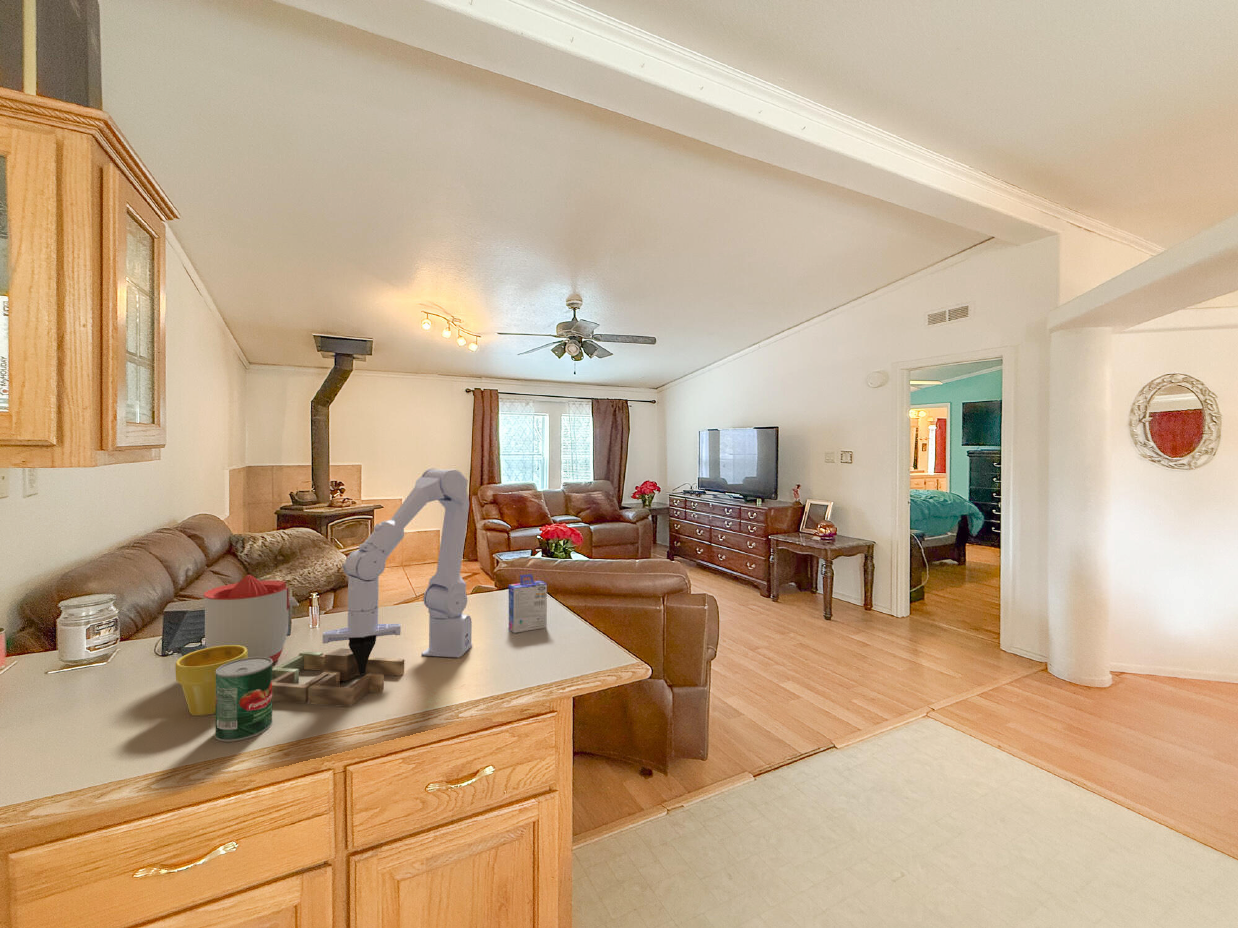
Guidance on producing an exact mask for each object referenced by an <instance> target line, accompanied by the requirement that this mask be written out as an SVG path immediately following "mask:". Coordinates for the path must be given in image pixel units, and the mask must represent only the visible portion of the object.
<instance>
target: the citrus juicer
mask: <svg viewBox="0 0 1238 928" xmlns="http://www.w3.org/2000/svg"><path fill="white" fill-rule="evenodd" d="M286 583H287V582H286V581H283V580H275V579H274V580H273V579H272V580H271V579H269V580H268V579H267V580H266V579H265V580H259V579H258V578H256V577H254V576H253V575H251V574H247V575H246V576H244V577H243V578H242V579H241V580H240V581H238V582H236V583H229V584H226V585H225V584H224V585H220V586H216V587H214V588H211V589H208V590H206V591H205V592H204V593H203V597H204V641H205V645H206V647H205V648H210V647H215V646H223V645H240V646H244V647H246V648H247V652H248V658H250V657H268V658H271V659H272V661H273V663H272V664H274V663H275V662H277V661H278V660H279V658H280V657H281V654H282V652H283V650H284V647H285V646H284V645H285V642H286V640H287V635H288V631H289V609H290V607H299V603H298V601H297V600H296V598H295V597H293V596H291V595H289V593H290V592H289V586H287V584H286Z"/></svg>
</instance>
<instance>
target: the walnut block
mask: <svg viewBox="0 0 1238 928" xmlns="http://www.w3.org/2000/svg"><path fill="white" fill-rule="evenodd" d="M324 654H325V653H324ZM325 671H335V672H340V682H346V681H348V680H350V679H352V678H354V677H357V676H358V675H360V674H359V668H358V664H357V661H356V659H355V656H354V654H353V653H352V651H351V649H350V648H344V647H343V648H341V647H339V648H337V649H336V650H333V651H330V652H328V653H326V654H325V660H324V670H323V672H325Z"/></svg>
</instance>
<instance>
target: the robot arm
mask: <svg viewBox="0 0 1238 928" xmlns="http://www.w3.org/2000/svg"><path fill="white" fill-rule="evenodd" d="M468 484H469V483H468V479H467V478H466V477H465V476H464V474H463V472H461V471H459V469H458V470H457V469H440V468H439V469H438V468H429V469H426V470H425V471H423V473H422V475H421V476H420V477H419V478H418V479H417V480H416V481H415V485H414V487H413V488H412V490H411V491H410V493H409V495H407V497H406V498H405V499H404V501H403V502H402V503H401V505H400V506H399V507H398V509H397V511H396V512H395V513H394V514H393V516H392V517H391V518H390V519H388V520H383V521H381V522H380V523H376V524H375V525H374V526H373V531H372V533H371V534H369V536H368V537H367V538H366V539H365V541H364V542H363V543H360V544H359V546H358V549H357V550H355V551H354V550H353V551H352V552H351V553H350V554H348V556H347V557H346V559H345V561H344V562H345V563H343V564H342V569H343V573H345V574H346V576H347V578H348V579H347V580H348V581H347V582H348V584H347V585H348V586H347V627H344V628H343V627H341V628H338V629H332V630H326V631H323V633H322V644H323V645H325V644H329V643H332V642H340V641H341V642H343V641H349V642H348V647H349V649H351V651H352V653H353V654H354V656H355V659H356V661H357V664H358V668H359V674H358V675H366V673H365V671H366V665H367V661H368V658H369V657H370V656H371V653H372V651H373V648H374V647H375V645H376V643H377V637H383V636H385V637H386V636H393V635H394V636H400V635H401V626H402V625H401V623H379V586H380V585H379V581H380V579H379V577H380V576H381V574H383V573H384V571H385V569H386V568H385V567H386V561H387V560H388V557H390V555H391V554H392V553H393V551H394V550H395V549H396V548H397V546H398V545H399V544H400V542H402V540H403V539H404V538H405V528H406V527H407V525H408V524H409V523H410V522H412V520H413V519H414V518H415V517H416V516H417V515H418V514H419V512H420V511H421V510H422V509H424V507H425V506H426V505H427V504H428V503H430V502H435V501H438V502H439V504H441V506H442V507H444V517H443V523H442V524H443V525H442V530H441V536H440V537H441V538H440V545H439V552H438V558H437V566H436V573H434V574H433V576H431V578H429V579H428V580H429V581H428V586H427V587H426V590H425V591H424V594H423V598H422V599H423V604H424V606H425V607H426V609H428V614H429V615H428V616H429V617H428V618H429V620H428V623H429V624H428V625H429V626H428V631H429V632H428V647H427V649H425V650H424V651H422V653H421V656H428V657H444V658H461V657H462V656H464V654H465V653H466V652H468V650H469V649H471V647H473V643H472V631H473V630H472V627H473V625H472V624H473V622H472V617H471V616H470V615H468V614H464V613H463V612H464V610H465V609H466V607H467V604H468V595H467V592H466V591H467V589H466V588H467V583H466V582H465V580H464V579H463V577H462V576H461V569H462V561H463V555H464V547H465V540H466V539H465V538H466V532H467V525H468V517H469V510H470V499H469V495H468Z"/></svg>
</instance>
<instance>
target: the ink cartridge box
mask: <svg viewBox="0 0 1238 928" xmlns="http://www.w3.org/2000/svg"><path fill="white" fill-rule="evenodd" d="M519 578H520V580H519V581H520V582H519V583H511V584H508V590H507V591H508V629H509V630H510V631H511V632H512V633H513V634H515V633H522V632H526V631H527V632H528V631H532V630H539V629H545V628H547V627H548V626H547V625H548V621H547V620H548V618H547V616H548V615H547V614H548V613H547V611H548V609H547V608H548V605H547V604H548V602H547V601H548V584H547V583H546V582H544V581H542V580H534V577H533V573H528V574H520V575H519ZM525 578H530V579H525Z"/></svg>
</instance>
